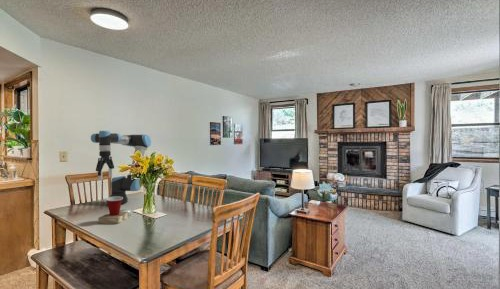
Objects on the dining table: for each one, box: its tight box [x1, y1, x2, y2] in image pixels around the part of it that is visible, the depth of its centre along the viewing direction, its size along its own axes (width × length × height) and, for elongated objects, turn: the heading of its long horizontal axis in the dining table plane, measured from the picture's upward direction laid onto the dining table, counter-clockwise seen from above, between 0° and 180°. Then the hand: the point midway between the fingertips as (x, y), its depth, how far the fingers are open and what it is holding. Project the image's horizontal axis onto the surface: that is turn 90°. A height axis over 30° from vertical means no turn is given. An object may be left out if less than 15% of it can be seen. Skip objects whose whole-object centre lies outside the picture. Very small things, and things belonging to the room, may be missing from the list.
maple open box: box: [97, 212, 130, 225], centre depth 177 cm, size 14×14×4 cm
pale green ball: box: [120, 208, 132, 217], centre depth 189 cm, size 8×8×4 cm
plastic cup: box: [105, 196, 123, 216], centre depth 177 cm, size 11×11×12 cm
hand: (105, 178), depth 192 cm, fingers open, 13 cm apart
